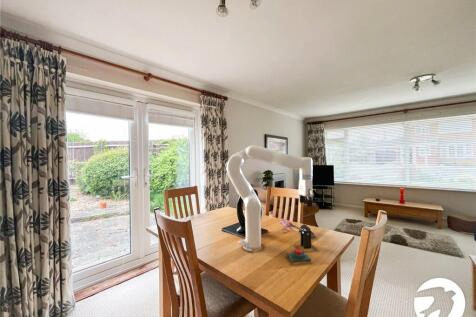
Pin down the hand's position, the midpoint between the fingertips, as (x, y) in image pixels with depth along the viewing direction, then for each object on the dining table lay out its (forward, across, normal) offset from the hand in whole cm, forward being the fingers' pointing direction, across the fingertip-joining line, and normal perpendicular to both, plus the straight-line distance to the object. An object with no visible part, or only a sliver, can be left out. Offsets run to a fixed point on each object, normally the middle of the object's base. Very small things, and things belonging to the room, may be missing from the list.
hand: (305, 204), depth 125 cm
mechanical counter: (+26, -14, +8) cm, 30 cm away
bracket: (+26, +3, -2) cm, 26 cm away
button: (+23, +15, -12) cm, 30 cm away
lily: (+26, -26, -2) cm, 37 cm away
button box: (+26, +15, -12) cm, 32 cm away
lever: (+15, +3, -6) cm, 16 cm away
